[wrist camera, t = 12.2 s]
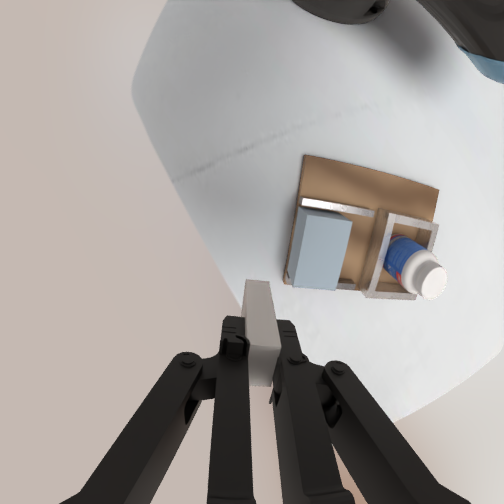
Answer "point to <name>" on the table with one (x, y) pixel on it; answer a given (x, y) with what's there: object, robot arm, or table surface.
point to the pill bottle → (414, 267)
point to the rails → (335, 206)
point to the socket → (379, 250)
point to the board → (363, 205)
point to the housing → (318, 248)
